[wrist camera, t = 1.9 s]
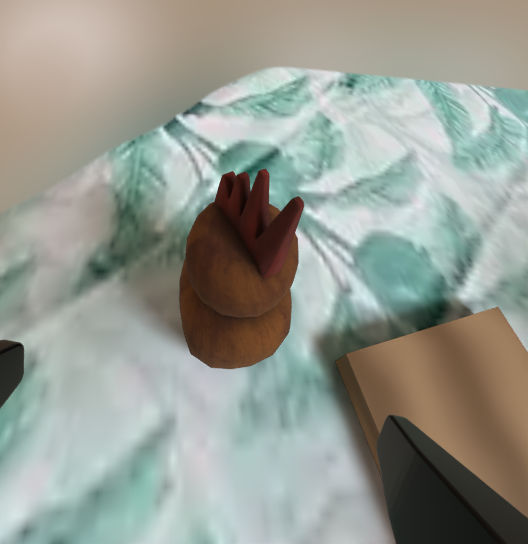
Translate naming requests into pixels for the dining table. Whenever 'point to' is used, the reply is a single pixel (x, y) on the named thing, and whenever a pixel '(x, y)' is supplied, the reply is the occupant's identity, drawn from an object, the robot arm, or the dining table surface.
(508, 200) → the dining table surface
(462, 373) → the light brown wooden stand
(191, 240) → the wooden figurine
